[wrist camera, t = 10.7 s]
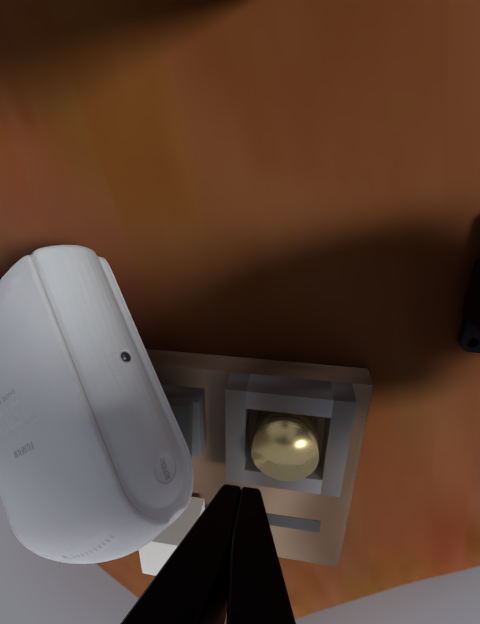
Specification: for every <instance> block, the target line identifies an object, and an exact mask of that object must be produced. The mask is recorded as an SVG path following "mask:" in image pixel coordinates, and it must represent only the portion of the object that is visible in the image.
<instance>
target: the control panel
mask: <svg viewBox="0 0 480 624" xmlns="http://www.w3.org/2000/svg"><path fill="white" fill-rule="evenodd" d="M146 351H147V354H148V356H149V358H150V361H151V363H152V365H153V368H154V370H155V372H156V375H157V377H158V379H159V381H160V384H161V386H162V388H163V391H164V393H165V395H166V397H169V398H179V399H188V400H193V424H192V464H193V477H194V481H193V491H192V495H191V497H197V498H204V502H205V508H206V507H207V506H208V504H209V503H210V502H211V500H212V499H213V497H214V496H215V495H216V493H217V492H218V491H219V489H220V488H221V487H222V486H223V485H224V484H229V485H236V486H240V487H241V490H242V488H243V487H251V488H258V489H259V490H260V491H261V494H262V498H263V502H264V506H265V509H266V513H267V517H268V521H269V525H270V528H271V532H272V536H273V540H274V544H275V547H276V551H277V555H278V557H281V558H287V559H293V560H299V561H305V562H312V563H318V564H324V565H330V566H336V567H338V566H339V561H340V556H341V551H342V545H343V540H344V535H345V530H346V525H347V520H348V514H349V509H350V504H351V499H352V494H353V489H354V483H355V478H356V473H357V468H358V463H359V458H360V452H361V447H362V442H363V437H364V432H365V426H366V421H367V416H368V411H369V406H370V401H371V395H372V390H373V382H372V379H371V376H370V373H369V370H368V368H356V367H345V366H334V365H322V364H311V363H300V362H289V361H277V360H266V359H255V358H244V357H232V356H221V355H210V354H199V353H187V352H176V351H165V350H153V349H146ZM262 410H263V411H272V412H281V413H290V414H300V415H309V416H313V417H314V419H315V421H316V424H317V433H318V449H319V462H318V465H317V467H316V469H315V470H314V471H313V472H312V473H311V474H310V475H309V476H307V477H305V478H303V479H300V480H295V481H283V480H278V479H274V478H272V477H269V476H267V475H266V474H264V473H263V472H261V471H260V470H259V469H258V468H257V466H256V465H255V464H254V462H253V459H252V455H251V451H252V444H253V438H254V432H255V426H256V420H257V417H258V415H259V414H260V412H261V411H262Z"/></svg>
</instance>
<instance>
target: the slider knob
mask: <svg viewBox="0 0 480 624" xmlns="http://www.w3.org/2000/svg"><path fill="white" fill-rule="evenodd" d="M204 510H205V502H204V498H197V497H191V500H190V502H189V505H188V506H187V508H186V509H185V511H184V512H183V513H182V514H181V515H180V516H179V517H178V518H177V519H176V520H175V521H174V522H173V523H172V524H170V525H169V526H168V527H166V528H165V529H164V530H162V531H161V532H160V534H159V535H158V536H157V537H156V538H154V539H153V540H152V541H151V542H149V543H148V544H147V545H145V546H144V547H142V548H141V549H139V554H140V560H141V567H142V573H145V574H150V575H157V574H158V572H159V571H160V569H161V568H162V567H163V565H164V564H165V563H166V561H167V560H168V559H169V557H170V556H171V555H172V553H173V552H174V550H175V549H176V548H177V546H178V545H179V544H180V542H181V541H182V540H183V538H184V537H185V536H186V534H187V533H188V531H189V530H190V529H191V527H192V526H193V525H194V523H195V522H196V521H197V519H198V518H199V517H200V515H201V514H202V512H203V511H204Z"/></svg>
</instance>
